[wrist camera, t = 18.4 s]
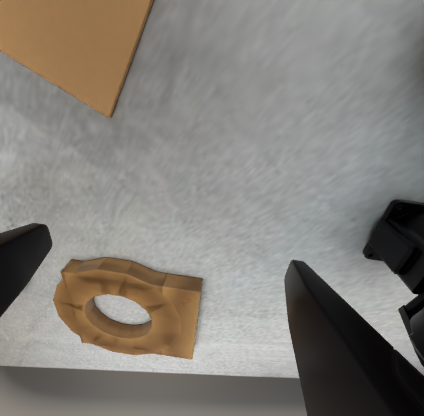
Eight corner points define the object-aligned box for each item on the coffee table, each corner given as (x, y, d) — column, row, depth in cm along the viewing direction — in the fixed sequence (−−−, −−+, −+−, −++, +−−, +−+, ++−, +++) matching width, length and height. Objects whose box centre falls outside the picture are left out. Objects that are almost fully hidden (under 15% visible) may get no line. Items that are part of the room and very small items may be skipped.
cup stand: (203, 271, 26) (201, 285, 25) (193, 349, 34) (191, 364, 33) (51, 249, 27) (38, 260, 25) (77, 331, 35) (68, 344, 33)
